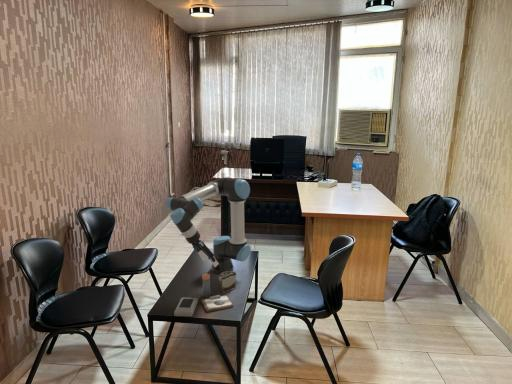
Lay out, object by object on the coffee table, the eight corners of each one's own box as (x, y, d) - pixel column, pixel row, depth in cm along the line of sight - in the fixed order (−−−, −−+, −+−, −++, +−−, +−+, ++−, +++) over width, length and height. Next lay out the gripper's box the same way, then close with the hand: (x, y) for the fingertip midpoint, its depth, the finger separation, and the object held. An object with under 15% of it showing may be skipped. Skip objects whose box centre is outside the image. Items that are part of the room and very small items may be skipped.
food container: (230, 283, 228) (230, 268, 226) (236, 286, 223) (236, 271, 221) (214, 290, 219) (214, 274, 217) (221, 293, 215) (220, 278, 213)
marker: (202, 294, 214) (201, 274, 211) (209, 293, 216) (208, 272, 213) (203, 298, 210) (203, 277, 207) (211, 296, 212) (211, 276, 209)
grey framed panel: (173, 310, 191) (181, 296, 206) (174, 316, 192) (181, 302, 207) (191, 310, 191) (197, 296, 205) (192, 317, 191) (198, 302, 206)
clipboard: (201, 301, 206) (201, 298, 205) (226, 296, 211) (226, 293, 211) (206, 312, 195) (206, 308, 195) (233, 306, 201) (233, 303, 200)
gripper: (176, 234, 203) (196, 261, 212) (195, 243, 183) (216, 272, 191) (186, 225, 206) (205, 252, 215) (206, 233, 186) (226, 263, 194)
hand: (211, 262), depth 203 cm, fingers open, 13 cm apart
